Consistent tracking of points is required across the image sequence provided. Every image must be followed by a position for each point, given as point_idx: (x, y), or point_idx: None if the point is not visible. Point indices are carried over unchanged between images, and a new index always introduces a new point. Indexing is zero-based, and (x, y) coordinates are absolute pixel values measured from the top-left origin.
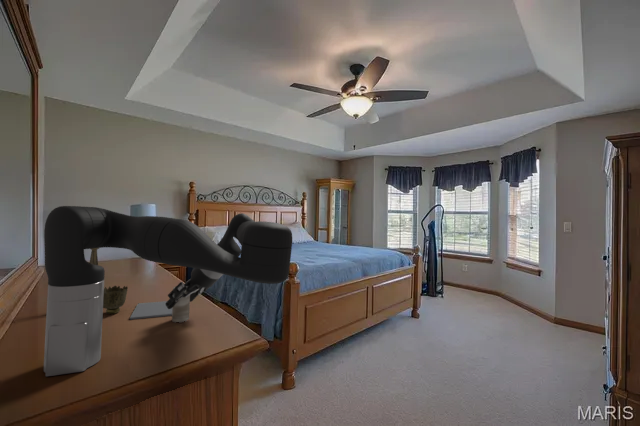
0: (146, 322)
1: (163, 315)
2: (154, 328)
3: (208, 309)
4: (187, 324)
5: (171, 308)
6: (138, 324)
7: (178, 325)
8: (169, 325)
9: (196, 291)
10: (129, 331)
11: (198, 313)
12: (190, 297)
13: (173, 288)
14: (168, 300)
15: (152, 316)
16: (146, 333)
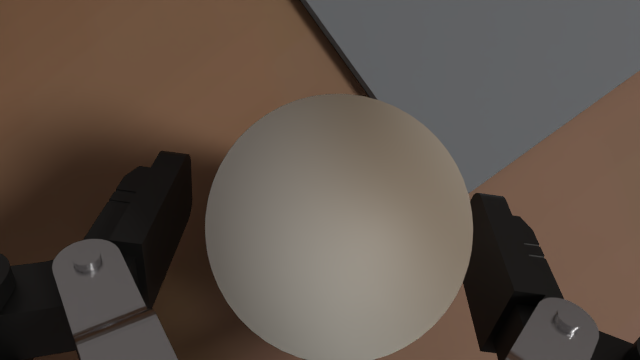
0: (203, 36)
1: (347, 61)
2: (106, 172)
3: (608, 297)
4: (236, 355)
5: (494, 20)
6: (154, 13)
7: (200, 301)
8: (185, 235)
9: (508, 343)
10: (21, 52)
11: None
12: (472, 247)
13: (236, 143)
14: (140, 186)
15: (303, 2)
16: (8, 186)
